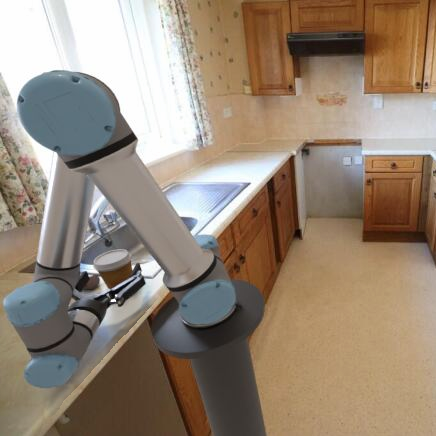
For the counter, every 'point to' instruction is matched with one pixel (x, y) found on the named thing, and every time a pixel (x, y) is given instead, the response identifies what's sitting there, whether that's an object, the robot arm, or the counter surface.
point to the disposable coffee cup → (114, 267)
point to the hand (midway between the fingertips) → (113, 270)
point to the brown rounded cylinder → (92, 282)
